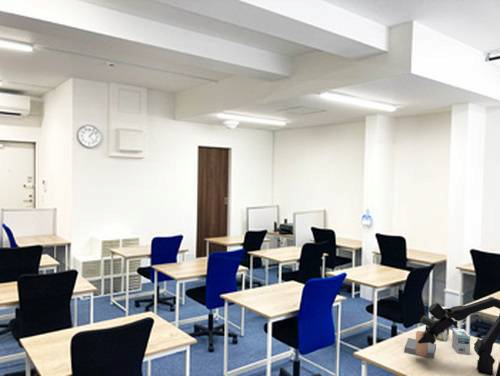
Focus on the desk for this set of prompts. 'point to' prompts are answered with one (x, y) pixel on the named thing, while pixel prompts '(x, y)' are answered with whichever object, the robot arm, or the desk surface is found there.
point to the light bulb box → (461, 341)
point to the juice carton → (442, 335)
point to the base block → (411, 348)
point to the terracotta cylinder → (421, 345)
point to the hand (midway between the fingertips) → (419, 340)
